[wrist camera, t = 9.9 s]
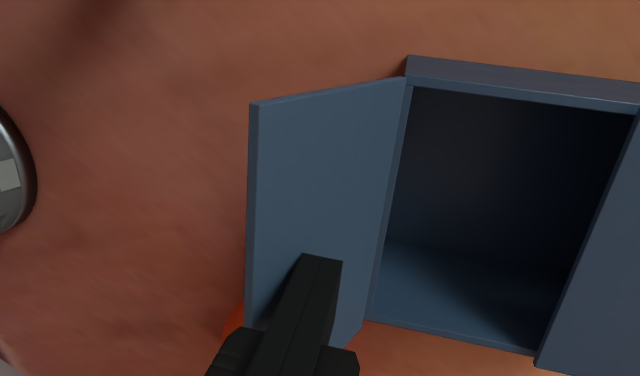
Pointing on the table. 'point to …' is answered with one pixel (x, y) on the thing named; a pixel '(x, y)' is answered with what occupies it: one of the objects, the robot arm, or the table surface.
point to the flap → (318, 192)
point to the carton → (515, 215)
